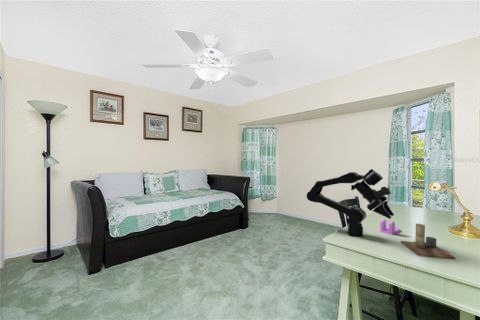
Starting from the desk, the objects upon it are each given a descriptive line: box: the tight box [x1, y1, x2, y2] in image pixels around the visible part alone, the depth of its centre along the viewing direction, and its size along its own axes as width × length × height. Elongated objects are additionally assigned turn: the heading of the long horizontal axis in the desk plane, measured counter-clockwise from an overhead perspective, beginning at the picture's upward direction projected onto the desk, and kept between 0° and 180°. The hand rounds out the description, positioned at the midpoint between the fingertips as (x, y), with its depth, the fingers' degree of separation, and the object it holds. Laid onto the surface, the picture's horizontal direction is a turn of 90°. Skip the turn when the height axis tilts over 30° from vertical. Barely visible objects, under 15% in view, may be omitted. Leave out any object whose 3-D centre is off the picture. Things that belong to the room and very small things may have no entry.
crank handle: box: [414, 223, 437, 248], centre depth 98 cm, size 10×4×10 cm, turn 106°
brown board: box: [400, 240, 456, 260], centre depth 97 cm, size 13×15×1 cm
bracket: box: [379, 218, 401, 236], centre depth 122 cm, size 13×6×7 cm, turn 123°
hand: (392, 216), depth 104 cm, fingers open, 7 cm apart
